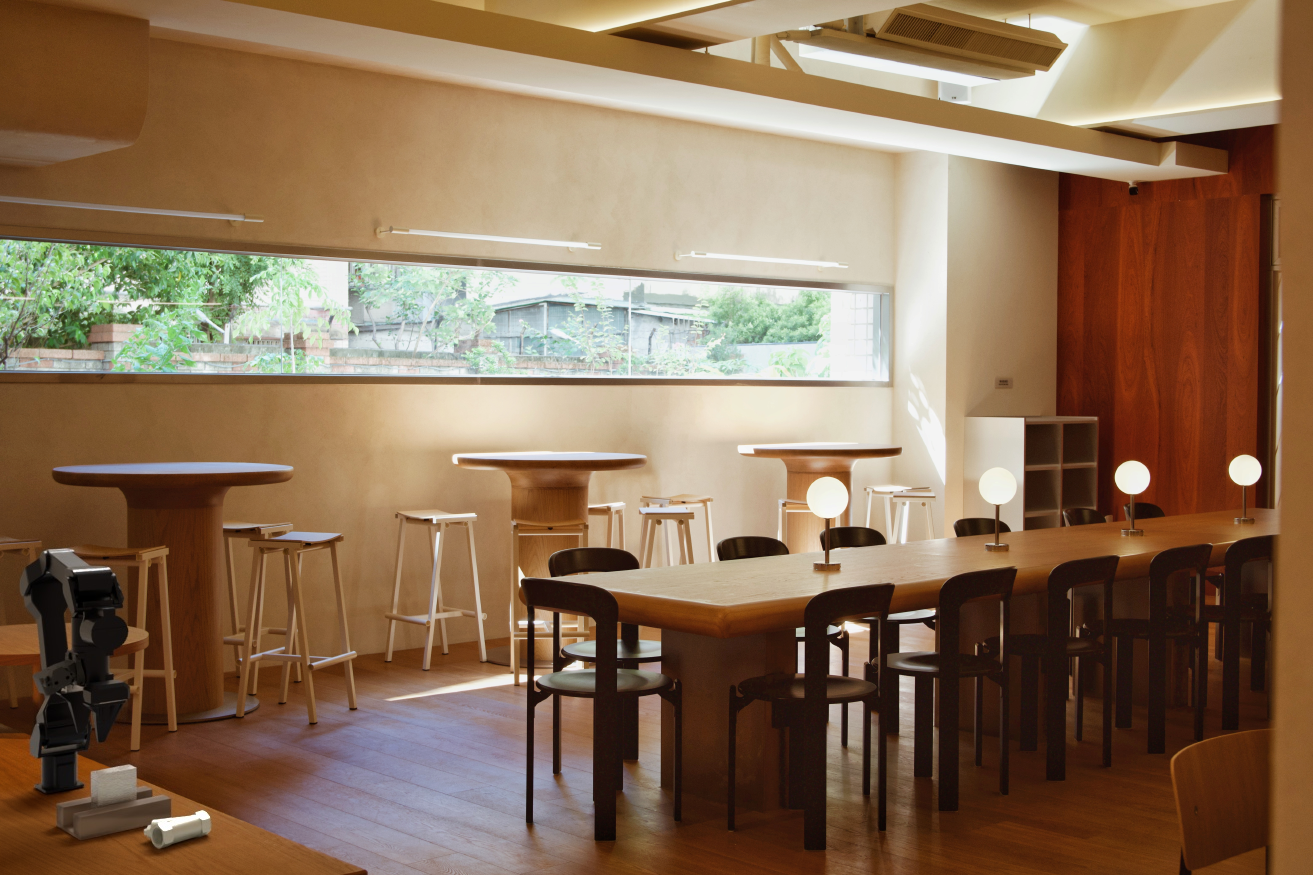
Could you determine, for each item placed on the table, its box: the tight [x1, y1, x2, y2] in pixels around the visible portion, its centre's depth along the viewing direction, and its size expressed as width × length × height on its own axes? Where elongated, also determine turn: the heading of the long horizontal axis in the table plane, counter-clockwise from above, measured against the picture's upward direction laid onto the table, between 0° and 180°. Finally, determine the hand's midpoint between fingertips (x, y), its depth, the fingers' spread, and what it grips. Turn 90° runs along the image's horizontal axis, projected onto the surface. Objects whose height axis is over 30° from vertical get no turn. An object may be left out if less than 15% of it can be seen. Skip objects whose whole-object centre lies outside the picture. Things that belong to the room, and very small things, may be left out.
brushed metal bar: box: [90, 764, 138, 810], centre depth 194 cm, size 3×6×8 cm, turn 134°
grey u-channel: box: [56, 785, 172, 841], centre depth 194 cm, size 10×14×4 cm
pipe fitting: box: [143, 810, 212, 850], centre depth 185 cm, size 8×4×7 cm
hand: (90, 737), depth 201 cm, fingers open, 9 cm apart
